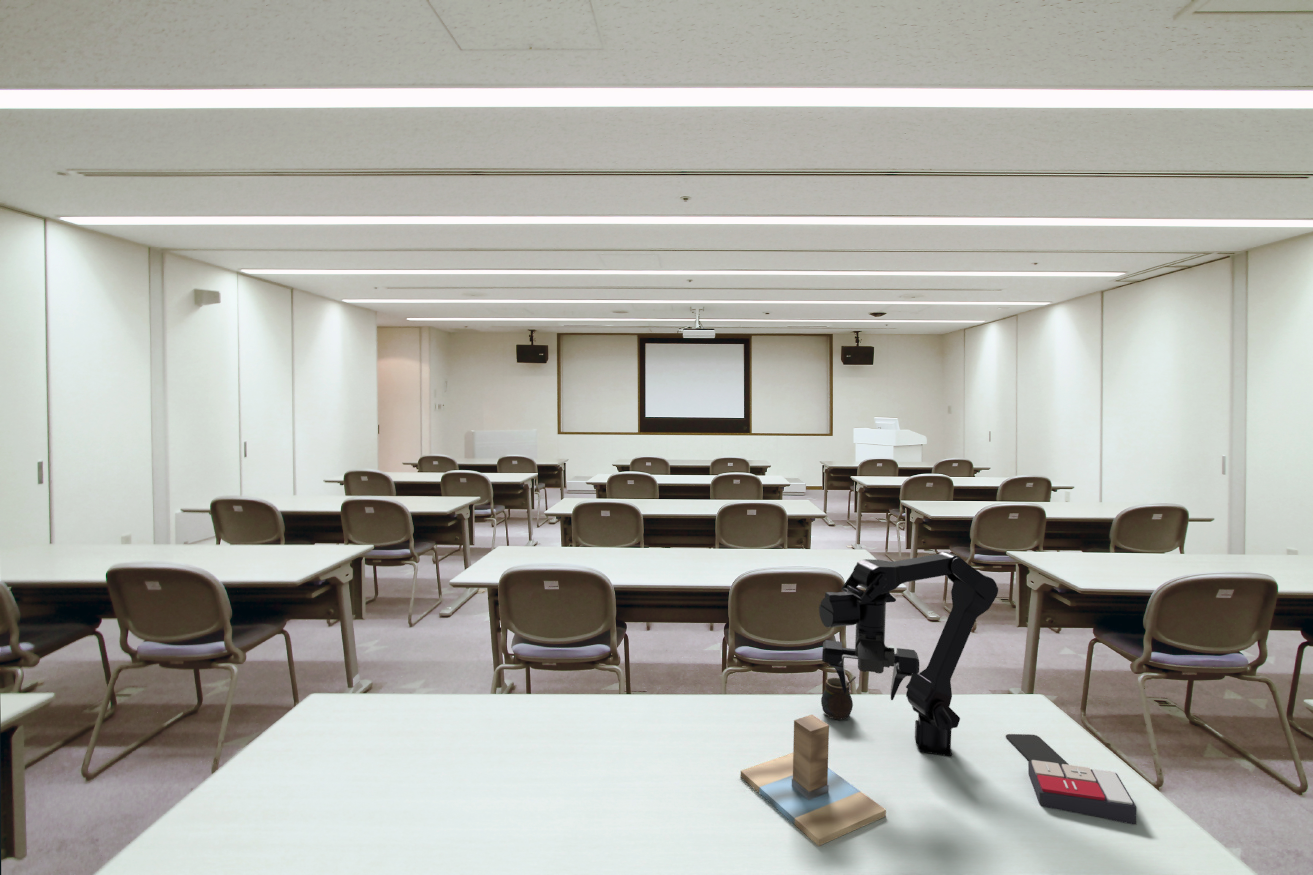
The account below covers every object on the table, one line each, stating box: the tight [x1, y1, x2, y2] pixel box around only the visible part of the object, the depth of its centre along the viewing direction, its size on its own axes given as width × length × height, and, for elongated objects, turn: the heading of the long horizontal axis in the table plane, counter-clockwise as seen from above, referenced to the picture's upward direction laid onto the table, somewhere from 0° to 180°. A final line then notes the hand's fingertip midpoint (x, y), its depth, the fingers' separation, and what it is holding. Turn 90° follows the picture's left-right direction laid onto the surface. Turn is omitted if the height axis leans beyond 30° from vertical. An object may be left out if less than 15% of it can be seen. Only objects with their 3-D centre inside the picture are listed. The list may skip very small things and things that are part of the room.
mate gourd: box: [820, 676, 857, 721], centre depth 150 cm, size 7×8×10 cm
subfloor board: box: [740, 752, 887, 847], centre depth 121 cm, size 22×16×1 cm
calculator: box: [1027, 760, 1137, 825], centre depth 120 cm, size 11×4×15 cm
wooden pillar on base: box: [791, 714, 830, 800], centre depth 120 cm, size 5×5×13 cm
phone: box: [1005, 733, 1070, 765], centre depth 134 cm, size 7×1×15 cm
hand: (868, 696), depth 133 cm, fingers open, 9 cm apart
